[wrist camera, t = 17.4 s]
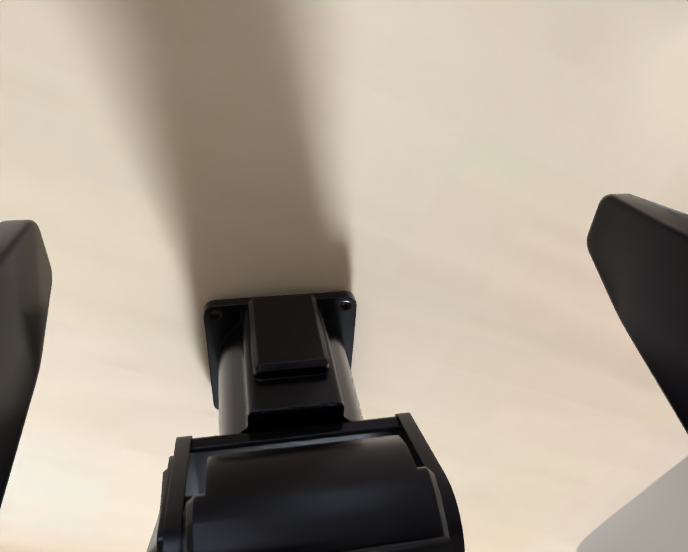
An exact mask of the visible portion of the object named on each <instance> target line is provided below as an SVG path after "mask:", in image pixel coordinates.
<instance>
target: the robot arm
mask: <svg viewBox="0 0 688 552" xmlns="http://www.w3.org/2000/svg"><path fill="white" fill-rule="evenodd" d="M587 247H588V251H589V253H590V255H591V257H592V260H593V262H594V264H595V266H596V268H597V271H598V273H599V275H600V277H601V280H602V282H603V284H604V286H605V288H606V291H607V293H608V295H609V297H610V299H611V302H612V304H613V306H614V308H615V310H616V312H617V314H618V316H619V318H620V320H621V322H622V324H623V326H624V327H625V329H626V331H627V333H628V334H629V336H630V338H631V339H632V341H633V343H634V344H635V346H636V348H637V350H638V351H639V353H640V355H641V356H642V358H643V360H644V361H645V363H646V365H647V366H648V368H649V370H650V371H651V373H652V375H653V377H654V378H655V380H656V382H657V383H658V385H659V387H660V388H661V390H662V392H663V393H664V395H665V397H666V398H667V400H668V402H669V404H670V405H671V407H672V409H673V410H674V412H675V414H676V415H677V417H678V419H679V420H680V422H681V424H682V425H683V427H684V429H685V431H686V432H687V434H688V214H685V213H682V212H679V211H676V210H674V209H671V208H668V207H665V206H662V205H659V204H657V203H654V202H651V201H648V200H645V199H643V198H640V197H637V196H634V195H631V194H610V195H606V196H605V197H603V198H602V199H601V201H600V203H599V205H598V208H597V210H596V213H595V216H594V219H593V222H592V224H591V227H590V230H589V233H588V236H587ZM51 286H52V271H51V266H50V262H49V259H48V256H47V252H46V249H45V246H44V242H43V239H42V236H41V232H40V229H39V227H38V225H37V224H36V223H35V222H34V221H32V220H11V221H3V222H1V223H0V508H1V504H2V501H3V497H4V494H5V490H6V486H7V483H8V479H9V476H10V472H11V469H12V465H13V462H14V458H15V455H16V451H17V448H18V444H19V441H20V437H21V434H22V430H23V427H24V423H25V420H26V416H27V412H28V409H29V405H30V402H31V398H32V395H33V391H34V388H35V384H36V381H37V377H38V373H39V369H40V363H41V357H42V351H43V344H44V336H45V329H46V322H47V315H48V307H49V300H50V293H51ZM345 301H346V302H348V303H347V304H344V305H341V303H342V302H345ZM213 311H219V312H220V313H218V314H213V313H211V312H213ZM355 317H356V300H355V297H354V295H353V294H352V293H350V292H346V291H341V292H327V293H312V294H298V295H283V296H269V297H254V298H240V299H225V300H213V301H210V302H208V303H207V304H206V305H205V306H204V324H205V333H206V342H207V350H208V359H209V367H210V376H211V384H212V393H213V402H214V406H215V408H216V409H218V410H219V436H210V437H201V438H192V436H185V437H177V438H176V444H175V451H174V456H170V457H169V463H168V469H167V470H165V471H164V472H163V481H162V494H161V505H160V512H159V516H158V520H157V523H156V526H155V528H154V531H153V534H152V537H151V540H150V543H149V546H148V549H147V552H465V547H464V537H463V529H462V524H461V519H460V514H459V510H458V506H457V503H456V499H455V496H454V493H453V490H452V488H451V485H450V483H449V481H448V479H447V477H446V475H445V473H444V471H443V470H442V468H441V466H440V464H439V463H438V461H437V459H436V458H435V456H434V454H433V452H432V451H431V449H430V447H429V445H428V444H427V442H426V440H425V438H424V437H423V435H422V433H421V432H420V430H419V428H418V426H417V425H416V423H415V421H414V419H413V418H412V416H411V414H410V413H400V414H395V417H387V418H377V419H368V420H363V417H362V413H361V410H360V406H359V402H358V398H357V394H356V390H355V386H354V382H353V378H352V374H351V363H352V351H353V340H354V328H355Z"/></svg>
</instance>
